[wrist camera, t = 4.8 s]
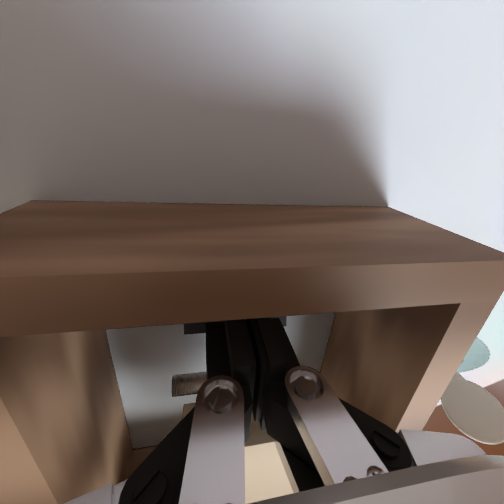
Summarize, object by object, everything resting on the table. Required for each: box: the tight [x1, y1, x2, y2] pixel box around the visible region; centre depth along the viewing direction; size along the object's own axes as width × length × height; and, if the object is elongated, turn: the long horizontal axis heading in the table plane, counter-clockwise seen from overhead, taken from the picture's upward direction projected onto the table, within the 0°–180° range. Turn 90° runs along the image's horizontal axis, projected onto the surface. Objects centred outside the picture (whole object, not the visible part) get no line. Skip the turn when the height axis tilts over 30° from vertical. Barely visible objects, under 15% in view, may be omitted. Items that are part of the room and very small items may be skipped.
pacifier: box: [441, 337, 504, 444], centre depth 16 cm, size 7×6×6 cm
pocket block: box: [0, 201, 504, 504], centre depth 13 cm, size 19×16×6 cm
